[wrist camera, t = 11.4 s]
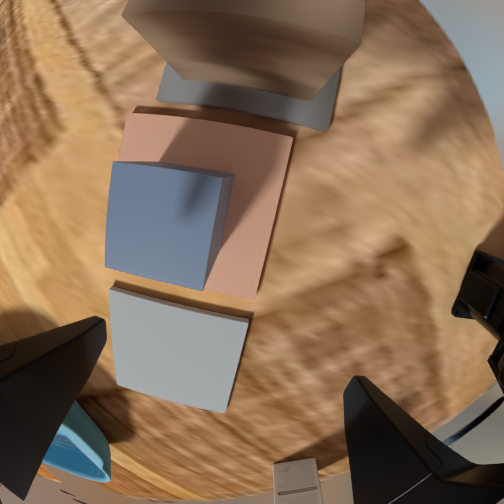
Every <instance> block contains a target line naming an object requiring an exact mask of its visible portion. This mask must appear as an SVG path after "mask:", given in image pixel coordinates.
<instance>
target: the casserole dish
mask: <svg viewBox="0 0 504 504" xmlns="http://www.w3.org/2000/svg"><path fill="white" fill-rule="evenodd" d="M42 462H44V463H47V464H49V465H51V466H54V467H56V468H58V469H61V470H64V471H66V472H69V473H71V474H74V475H77V476H80V477H83V478H87V479H90V480H94V481H98V482H109V481H110V480H111V453H110V447H109V444H108V441H107V439H106V437H105V436H104V434H103V433H102V432H101V430H100V429H99V428H98V426H97V425H96V424H95V423H94V421H93V420H92V419H91V418H90V417H89V416H88V414H87V413H86V412H85V411H84V410H83V409H82V407H81V406H80V405H79V403H78V402H77V401H76V400H75V402H74V403H73V405H72V407H71V408H70V410H69V412H68V414H67V415H66V417H65V419H64V421H63V423H62V424H61V426H60V428H59V430H58V432H57V434H56V435H55V437H54V439H53V441H52V443H51V445H50V447H49V449H48V451H47V453H46V455H45V457H44V459H43V461H42Z"/></svg>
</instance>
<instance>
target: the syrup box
mask: <svg viewBox="0 0 504 504" xmlns="http://www.w3.org/2000/svg"><path fill="white" fill-rule="evenodd" d="M273 483H274V502H275V504H323V498H322V492H321V486H320V480H319V475H318V469H317V464H316V459H315V458H309V459H301V460H295V461H289V462H282V463H276V464H273Z"/></svg>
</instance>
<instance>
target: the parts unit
mask: <svg viewBox="0 0 504 504" xmlns="http://www.w3.org/2000/svg"><path fill="white" fill-rule="evenodd" d="M365 6H366V0H128V3H127V5H126V7H125V9H124V11H123V13H122V15H121V16H122V17H123V18H124V19H125V20H126V21H127V22H128V23H129V24H130V25H131V26H132V27H133V28H134V29H135V30H136V31H137V32H138V33H139V34H140V35H141V36H142V37H143V38H144V39H145V40H146V41H147V42H148V43H149V44H150V45H151V46H152V47H153V48H154V49H155V50H156V51H157V52H158V53H159V54H160V55H161V56H162V57H163V58H164V59H165V61H166V62H167V64H166V67H165V70H164V73H163V77H162V80H161V84H160V87H159V91H158V95H157V99H156V100H158V101H160V102H167V103H178V104H188V105H197V106H205V107H212V108H219V109H225V110H232V111H237V112H243V113H248V114H253V115H258V116H263V117H268V118H272V119H277V120H281V121H285V122H289V123H293V124H297V125H301V126H305V127H309V128H312V129H316V130H319V131H323V132H327V131H328V130H329V125H330V121H331V116H332V111H333V106H334V101H335V96H336V90H337V85H338V80H339V74H340V69H341V66H342V65H343V63H344V62H345V61H346V60H347V59H348V58H349V57H350V56H351V55H352V54H353V52H354V51H355V50H356V49H357V48H358V47H359V46H360V45H361V42H362V34H363V25H364V16H365Z"/></svg>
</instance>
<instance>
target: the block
mask: <svg viewBox="0 0 504 504" xmlns="http://www.w3.org/2000/svg"><path fill="white" fill-rule="evenodd" d="M234 176H235V174H230V173H225V172H220V171H214V170H209V169H203V168H197V167H191V166H185V165H179V164H172V163H165V162H154V161H114V162H113V166H112V173H111V180H110V189H109V198H108V209H107V222H106V240H105V267H107V268H111V269H114V270H118V271H122V272H125V273H129V274H133V275H137V276H141V277H145V278H149V279H153V280H157V281H161V282H165V283H169V284H173V285H178V286H182V287H186V288H191V289H195V290H200V291H203V289H204V287H205V284H206V282H207V280H208V277H209V275H210V273H211V270H212V268H213V265H214V263H215V261H216V258H217V256H218V254H219V251H220V247H221V241H222V236H223V231H224V226H225V221H226V215H227V210H228V205H229V200H230V195H231V191H232V186H233V181H234Z"/></svg>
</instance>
